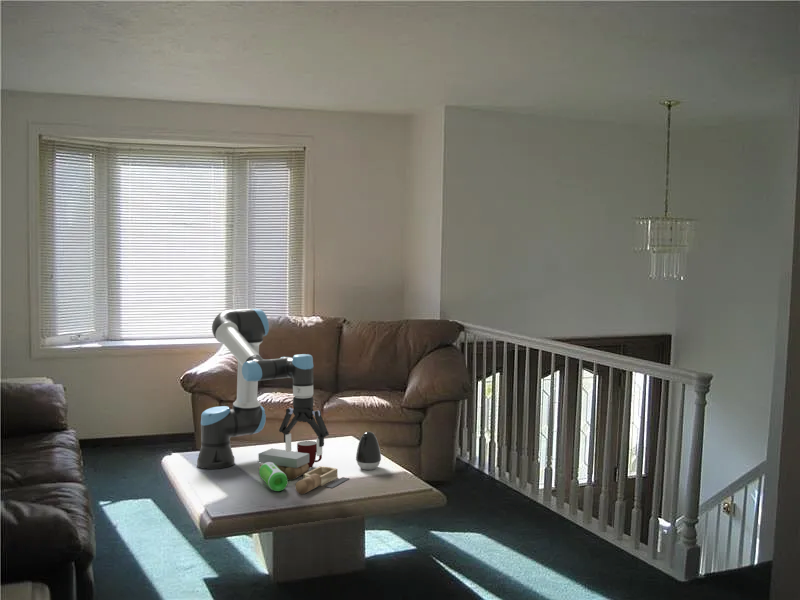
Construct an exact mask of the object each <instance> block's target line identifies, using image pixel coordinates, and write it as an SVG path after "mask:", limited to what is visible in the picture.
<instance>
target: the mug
mask: <svg viewBox="0 0 800 600" xmlns="http://www.w3.org/2000/svg"><path fill="white" fill-rule="evenodd" d="M296 445H297V446H296V448H297V451H296V452H301V453H309V463H308V465H309V469H311V468H313V466H314V464H315V463H319V462H320V461H321V460H322V459H323V454H322V455H320V456H318V459H317V460H316V458H317V441H316V440H315V441H313V440H302V441H299V442H297V443H296Z"/></svg>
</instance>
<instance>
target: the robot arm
mask: <svg viewBox="0 0 800 600" xmlns="http://www.w3.org/2000/svg"><path fill="white" fill-rule="evenodd" d="M269 325H270V322H269V318H268V316H267V314H266V313H265V311H264V310H262V309H260V308H243V309H242V308H241V309H226V310H224V311H221V312H220V313H218V314H217V315H216V316H215V317H214V319H213V322H212V325H211V332H212V335H213V336H214V338H215V340H216V341H218V342H219V343H220V344H223V345H224V346H225V347H226V348H227V349H228V351H229V353H231V355H233V356H234V358H235V359H236V360H237V378H236V379H237V381H236V399H235V401H233V402H232V408H230V407H229V406H227V405H226V406H225V405H220V406H213V407H209V408H207V409H205V410H204V411H202V413H201V414H200V431H201V432H200V443H201V445H200V446H201V447H200V449H199V454H198V457H197V459H196V461H197V462H196V465H197V467H198V466H199V467H198V468H200V467H201V469H205V468H207V470H208V469H209V470H217V469H224V468H229V467H232V466H234V465H235V456H234V453H233V449H232V447H231V438H235V437H241V436H248V435H250V436H251V435H254V434H258V433H260V432H262V430H263V429H264V427H265V424H266V420H267V419H266V418H267V416H266V413H265V412H266V410H265V408H264V407H263V406H262V405H261V402H260V401H259V400H258V387H259V386H258V385H259V382H261V381H267V380H277V379H279V380H280V379H287V378H288V379H292V396H293V398H292V406H293V407H288V408H286V409H285V415H284V418H283V420H282V421H281V424H280V427H279V429H278V432H279V433H281V434H283V442H284V444H285V450H286V452H289V451H292V433H291V431H292V429H293V428H294V427H295V425H296V424H297V423H298V422H301V423H302V422H303V423H307V424H308V425H309V426H310V427H311V429H312V430H313V431H314V433H315V434H316V436H317V437H316V442H317V453H316V457H319V456H320V455H322V456H323V447H324V445H325V438H326V437H328V436H329V435H330V433H329V431H328V428H327V426H326V425H325V421H324V419H323V417H322V411H321V409H319V410H314V397H313V395H314V367H315V366H314V358H313V355H311V354H309V353H307V354H306V353H302V354H300V353H299V354H294V355H293V356H292V357H291V356H281V357H280V358H270V359H269V358H268V359H264V358H263V357H262V356H261V355H260V345H261V344H262V343H263V341H264V337H266V336H268V334H269V331H270V330H269V329H270V326H269ZM292 415H294V416H293V417H292ZM291 417H292V419H291Z"/></svg>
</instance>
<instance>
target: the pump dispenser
mask: <svg viewBox="0 0 800 600" xmlns="http://www.w3.org/2000/svg"><path fill="white" fill-rule="evenodd" d="M381 454H382V453H381V449H380V445H379V442H378V439H377V436H376V434H375V433H374V432H372V431H365V432H364V433H362V435H361V437H360V439H359V442H358V445H357V449H356V456H355V460H356V463H357V465H358V467H359V468H360V469H362V470H364V471H373V470H375V469H377V468H378V467H379V466H380V463H381V460H382V455H381ZM372 469H373V470H372Z"/></svg>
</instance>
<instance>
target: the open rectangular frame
mask: <svg viewBox="0 0 800 600" xmlns="http://www.w3.org/2000/svg"><path fill="white" fill-rule="evenodd" d="M312 474H318V475H319V476H320V477H321V485H320V486H319V487H322V486H324V485H326V484H328V483H330V482H333V481H334V480H336V479H337V478H338V468H335V467H331V466H323V465H321V466H318V467H315V468H314V469H312V470H310V471H308V472H307V473H305V474H303V476H302V477H303V478H302V479H304V478H306V477H308V476H310V475H312Z"/></svg>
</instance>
